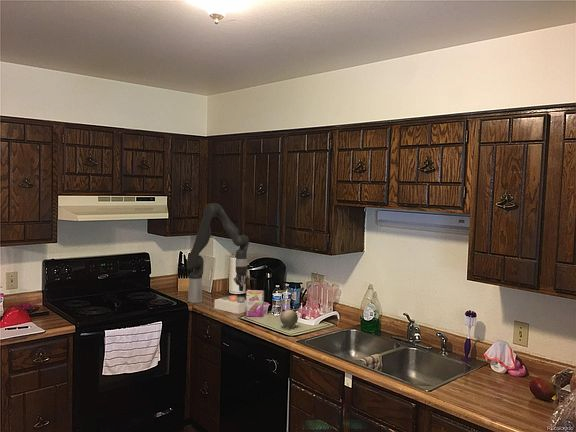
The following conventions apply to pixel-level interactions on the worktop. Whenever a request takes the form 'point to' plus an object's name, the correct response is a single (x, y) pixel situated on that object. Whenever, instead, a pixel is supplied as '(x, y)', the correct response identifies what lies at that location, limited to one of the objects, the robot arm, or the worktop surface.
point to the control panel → (230, 306)
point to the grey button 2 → (240, 299)
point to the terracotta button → (233, 298)
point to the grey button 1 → (225, 298)
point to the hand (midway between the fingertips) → (241, 291)
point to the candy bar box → (254, 303)
